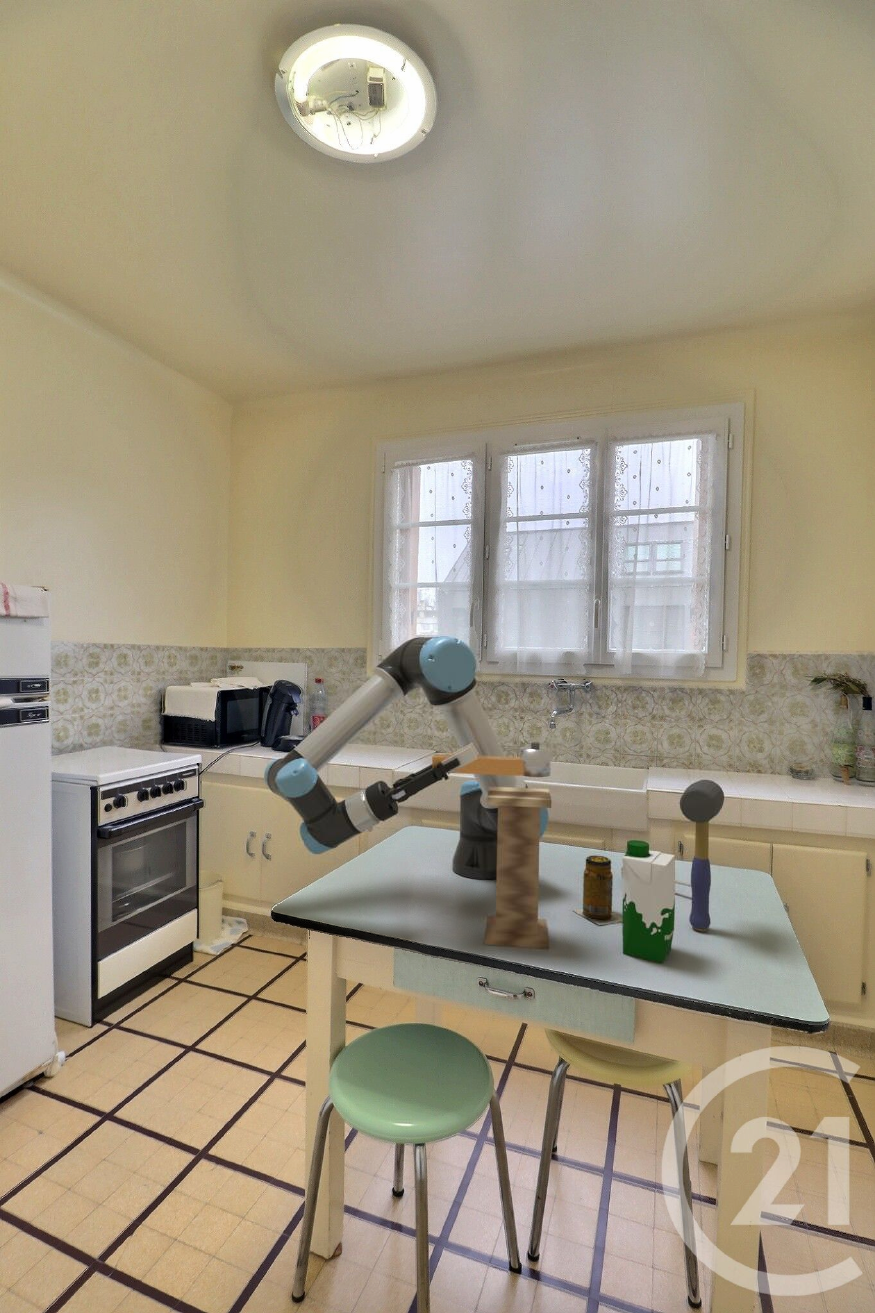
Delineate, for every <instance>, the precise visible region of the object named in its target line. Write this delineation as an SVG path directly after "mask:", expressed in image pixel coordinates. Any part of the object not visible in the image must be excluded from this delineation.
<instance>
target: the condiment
mask: <svg viewBox="0 0 875 1313" xmlns="http://www.w3.org/2000/svg"><path fill="white" fill-rule="evenodd" d="M582 878H583V880H582V882H583V883H582V884H583V885H582V887H583V888H582V908H581V909H578V908H577V909H573V912H575V913H577V914H578V915H579V916H581V917H583V918H585V919H588V920H589V921H591V922H592V923H595V924H597V925H598V926H604V925H605V926H606V925H612V924H616V923H620V922H621V923H622V916H620V915H618V914H617V913H614V912H613V883H614V882H613V880H614V875H613V872H612V861H611V858H609V857H606V856H603V855H594V854H593V855H589V856H587V857H586V858H585V869H584V870H583V876H582Z"/></svg>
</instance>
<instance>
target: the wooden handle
mask: <svg viewBox="0 0 875 1313" xmlns="http://www.w3.org/2000/svg"><path fill="white" fill-rule="evenodd" d="M540 745H541V744H540V742H539V741H530V746H522V747H521V746H520V747H519V756H511V755H510V756H506V755H505V756H482V755H476V756H477V758H478V759H476V760H475V761H473V762H471V763H469V764H467V765H465V766H463V767H462V768H460V769H458V770H456V771H454V772H452V773H451V774H463V775H464V774H465V775H466V774H468V775H473V774H488V775H515V776H516V777H519V776H521V777H522V776H523V777H528V778H547V777H551V752H552V751H551V748H549V747H545V746H544V747H543V746H540ZM452 754H453V753H451V754H449V753H446V754H445V753H433V756H431V757H432V759H431V760H432V761H431V762H432V763H431V764H432V768H433V767H435V766H437V765H438V764H442V763H441V762H442V761H444V760H446V759H448V758H450V757H452V756H454V755H452ZM442 766H443V764H442ZM446 773H447V772H446Z"/></svg>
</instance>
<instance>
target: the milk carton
mask: <svg viewBox="0 0 875 1313" xmlns="http://www.w3.org/2000/svg"><path fill="white" fill-rule="evenodd" d="M622 867H623V878H622V910H621V911H622V914H621V915H622V916H621V917H622V921H621V923H622V924H621V925H622V926H621V927H622V928H621V929H622V931H621V932H622V933H621V934H622V954H624V955H628V956H630V957H631V956H632V957H635V958H639V959H643V960H647V961H651V962H654V963H658V964H663V963H664V961H665V960H666V958H667V957H668V954H669V952H670V951H671V949H672V943H673V938H674V932H675V913H676V912H675V909H676V883H675V880H676V855H675V854H670V853H669V854H668V853H664V852H662V851H659V850H655V851H654V850H650V843H648V842H646V841H644V840H637V839H633V840H632V839H631V840H627V842H626V851H625V854H624V855H623V857H622Z"/></svg>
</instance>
